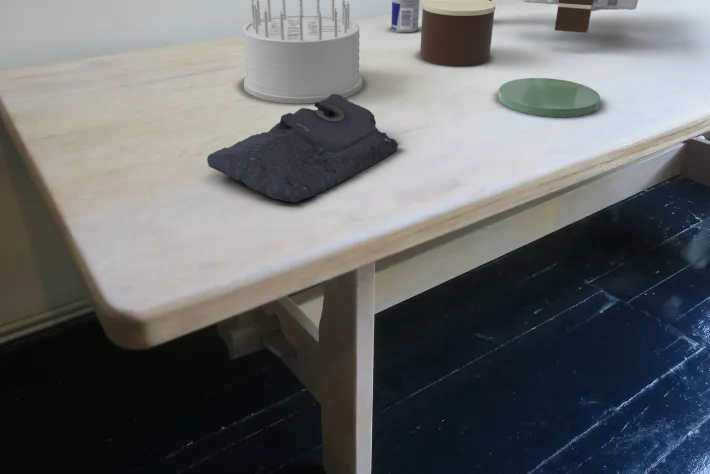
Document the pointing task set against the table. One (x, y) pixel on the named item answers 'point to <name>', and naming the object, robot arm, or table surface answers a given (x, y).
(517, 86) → the plate
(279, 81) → the cake
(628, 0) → the robot arm
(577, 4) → the cake slice
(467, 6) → the cake
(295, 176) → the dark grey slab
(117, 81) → the table surface
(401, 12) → the energy drink
